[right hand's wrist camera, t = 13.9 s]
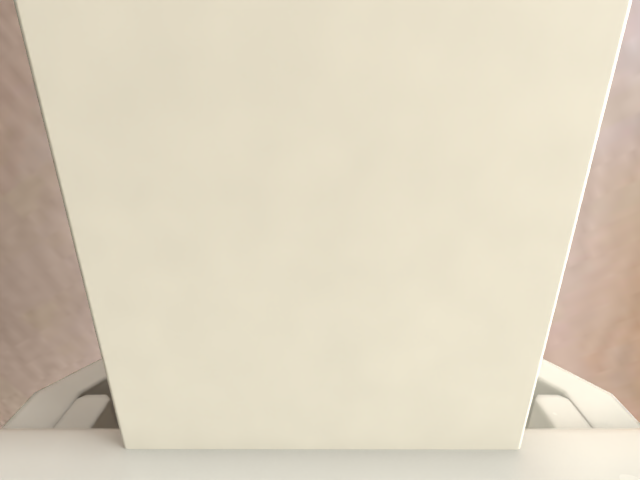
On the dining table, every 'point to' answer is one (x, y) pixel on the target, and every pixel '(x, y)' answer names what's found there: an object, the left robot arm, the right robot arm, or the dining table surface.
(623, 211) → the dining table surface
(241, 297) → the bar
